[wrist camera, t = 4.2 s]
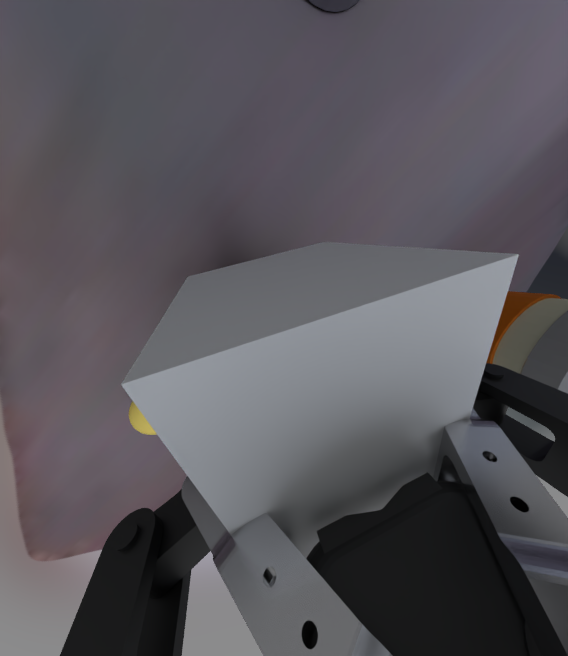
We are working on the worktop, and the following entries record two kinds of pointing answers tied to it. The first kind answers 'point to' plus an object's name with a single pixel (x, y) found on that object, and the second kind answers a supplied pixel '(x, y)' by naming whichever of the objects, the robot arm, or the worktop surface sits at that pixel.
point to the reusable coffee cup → (533, 338)
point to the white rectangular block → (318, 376)
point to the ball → (139, 421)
